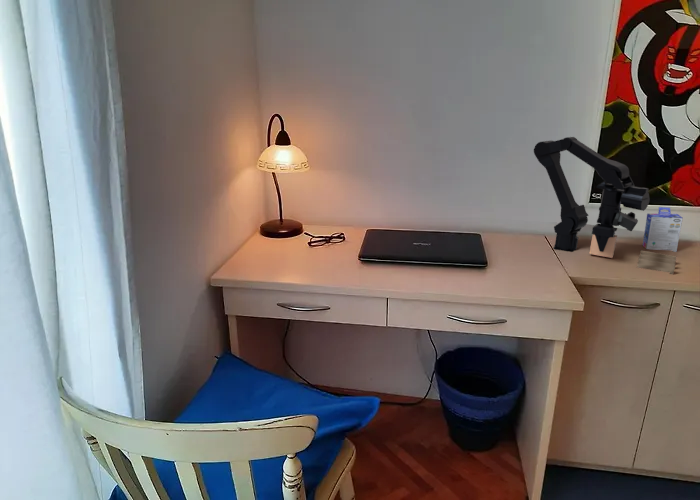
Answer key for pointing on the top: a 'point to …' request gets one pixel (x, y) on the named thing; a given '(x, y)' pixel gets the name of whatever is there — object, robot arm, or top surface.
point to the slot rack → (656, 261)
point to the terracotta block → (608, 248)
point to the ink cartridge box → (662, 230)
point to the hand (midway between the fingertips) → (602, 250)
